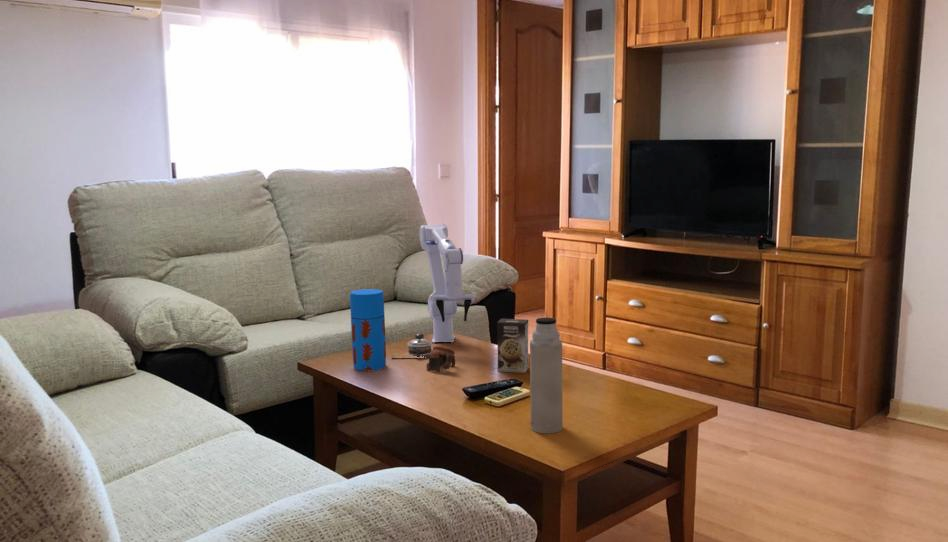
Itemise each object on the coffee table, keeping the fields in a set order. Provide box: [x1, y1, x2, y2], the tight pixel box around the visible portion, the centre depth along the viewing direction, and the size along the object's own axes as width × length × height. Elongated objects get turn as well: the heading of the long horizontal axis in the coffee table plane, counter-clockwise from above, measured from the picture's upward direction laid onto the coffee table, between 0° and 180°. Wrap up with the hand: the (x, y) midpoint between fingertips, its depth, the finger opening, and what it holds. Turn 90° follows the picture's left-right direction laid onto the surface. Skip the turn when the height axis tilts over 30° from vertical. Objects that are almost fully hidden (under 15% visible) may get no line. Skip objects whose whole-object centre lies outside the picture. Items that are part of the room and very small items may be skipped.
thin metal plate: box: [391, 340, 433, 359], centre depth 272 cm, size 13×18×4 cm
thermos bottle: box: [529, 317, 564, 434], centre depth 194 cm, size 8×8×28 cm
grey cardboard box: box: [497, 318, 529, 374], centre depth 249 cm, size 9×6×16 cm
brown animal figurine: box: [425, 346, 456, 373], centre depth 253 cm, size 12×10×8 cm
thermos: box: [349, 288, 387, 372], centre depth 255 cm, size 11×11×25 cm
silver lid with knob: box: [409, 332, 430, 345], centre depth 272 cm, size 6×6×3 cm
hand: (454, 321), depth 275 cm, fingers open, 7 cm apart
